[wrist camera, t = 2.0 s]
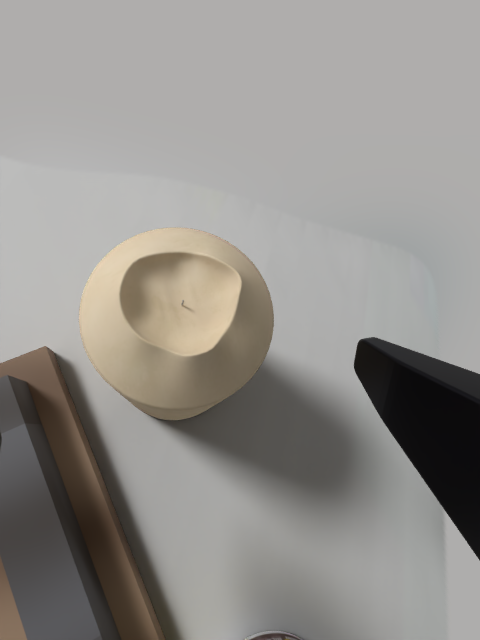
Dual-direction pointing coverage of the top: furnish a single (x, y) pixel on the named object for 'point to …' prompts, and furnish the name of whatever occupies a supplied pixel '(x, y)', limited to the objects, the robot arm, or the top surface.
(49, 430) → the socket
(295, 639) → the supplement bottle
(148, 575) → the top surface
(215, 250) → the candle
